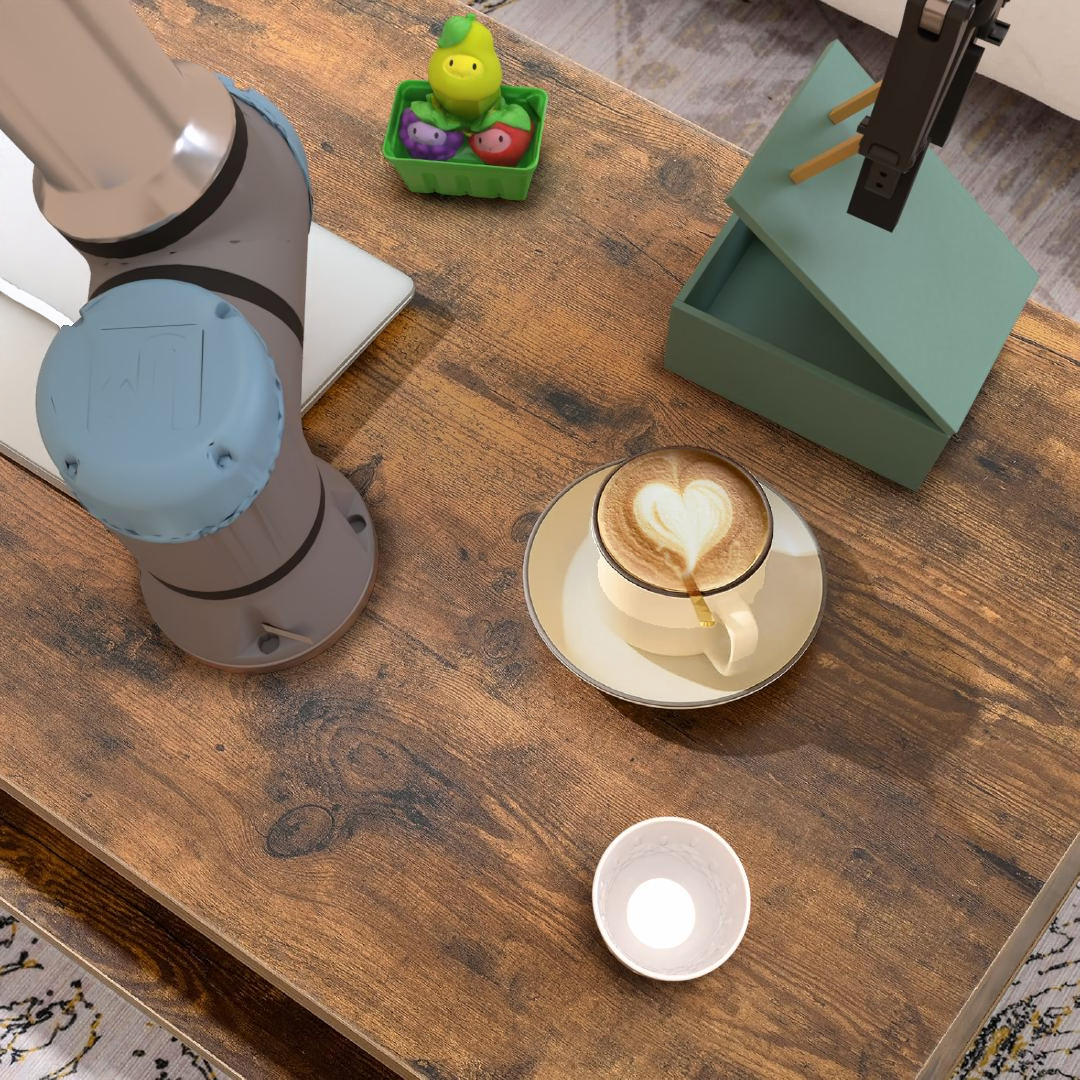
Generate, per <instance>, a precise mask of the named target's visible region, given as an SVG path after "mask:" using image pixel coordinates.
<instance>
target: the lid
mask: <svg viewBox="0 0 1080 1080" xmlns="http://www.w3.org/2000/svg"><path fill="white" fill-rule="evenodd" d="M814 63H815V64H814V65H813V66H812V68H811V69H810V71H809V72H808V74H807V76H805V78H804V80H803V81H802V83H801V84H800V86H799V87H798V88H797V90H796V92H795V93H794V95H793V96H792V97H791V99H790V100H789V102H788V104H787V105H786V107H785V108H784V110H783V111H782V112H781V114H780V116H779V117H778V119H776V121H775V123H774V124H773V125H772V127H771V129H770V131H769V132H768V133H767V135H766V136H765V138H764V139H763V141H762V142H761V144H760V145H759V146H758V148H757V150H756V151H755V152H754V153H753V155H752V157H751V158H750V160H749V161H748V163H747V164H746V166H745V168H743V170H742V172H741V174H740V175H739V177H738V178H737V179H736V181H735V182H734V184H733V185H732V187H731V188H730V190H729V191H728V193H727V194H726V196H725V197H724V199H723V202H724V203H725V204H726V205H727V206H728V208H729V209H730V210H732V213H733V212H734V213H735V214H736V215H737V216H738V217H739V218H740V219H741V220H742V221H743V222H744V223H745V224H746V225H747V226H748V227H749V228H750V229H751V230H752V231H753V232H754V233H755V235H756V236H757V237H758V238H759V239H760V240H761V241H762V242H763V243H764V244H765V245H766V246H767V247H768V248H769V249H770V250H771V251H772V252H773V253H774V254H775V255H776V257H777V258H778V259H779V260H780V261H781V262H782V263H783V264H784V265H785V266H786V267H787V268H788V269H789V270H790V271H791V272H792V273H793V274H794V275H795V276H796V277H797V278H798V280H799V281H800V282H801V283H802V284H803V285H804V286H805V287H806V288H807V289H808V290H809V291H810V292H811V293H812V294H813V295H814V296H815V297H816V298H817V299H818V300H819V302H820V303H821V304H822V305H823V306H824V307H825V308H826V309H827V310H828V311H829V312H830V313H831V314H832V315H833V316H834V317H835V318H836V319H837V320H838V321H839V322H840V324H841V325H842V326H843V327H844V328H845V329H846V330H847V331H848V332H849V333H850V334H851V335H852V336H853V337H854V338H855V339H856V340H857V341H858V342H859V343H860V344H861V345H862V347H863V348H864V349H865V350H866V351H867V352H868V353H869V354H870V355H871V356H872V357H873V358H874V359H875V360H876V361H877V362H878V363H879V364H880V365H881V366H882V367H883V369H884V370H885V371H886V372H887V373H888V374H889V375H890V376H891V377H892V378H893V379H894V380H895V381H896V382H897V383H898V384H899V385H900V386H901V387H902V388H903V389H904V391H905V392H906V393H907V394H908V395H909V396H910V397H911V398H912V399H913V400H914V401H915V402H916V403H917V404H918V405H919V406H920V407H921V408H922V409H923V410H924V411H925V412H926V414H927V415H928V416H929V417H930V418H931V419H932V420H933V421H934V422H935V423H936V424H937V425H938V426H939V427H940V428H941V429H942V430H943V431H944V432H945V433H946V434H947V435H951V434H952V435H956V434H957V433H958V432H959V431H960V428H961V426H962V425H963V423H964V420H965V419H966V417H967V416H968V413H969V411H970V410H971V407H972V406H973V404H974V402H975V400H976V398H977V397H978V395H979V392H980V391H981V388H982V387H983V385H984V383H985V381H986V379H987V377H988V375H989V374H990V371H991V370H992V369H993V366H994V364H995V362H996V361H997V358H998V356H999V355H1000V353H1001V351H1002V349H1003V347H1004V345H1005V343H1006V342H1007V340H1008V337H1009V336H1010V334H1011V332H1012V330H1013V328H1014V327H1015V325H1016V322H1017V321H1018V319H1019V316H1021V313H1022V311H1023V309H1024V308H1025V305H1026V304H1027V302H1028V300H1029V298H1030V296H1031V294H1032V292H1033V290H1034V288H1035V287H1036V285H1037V282H1038V281H1039V279H1040V277H1041V275H1040V274H1039V273H1038V272H1037V270H1036V269H1035V268H1034V267H1033V266H1032V265H1031V264H1030V262H1029V261H1028V260H1027V259H1026V257H1024V255H1023V254H1022V253H1021V251H1020V250H1019V249H1018V248H1017V247H1016V246H1015V245H1014V244H1013V242H1012V241H1011V240H1010V238H1008V237H1007V235H1006V234H1005V233H1004V231H1002V229H1001V228H1000V227H999V225H997V224H996V222H995V221H994V220H993V219H992V218H991V217H990V215H989V214H988V212H986V210H985V209H984V208H983V207H982V206H981V205H980V204H979V203H978V201H977V200H976V199H975V198H974V197H973V196H972V195H971V193H970V192H969V191H968V190H967V188H965V186H964V185H963V184H962V183H961V182H960V180H959V179H958V178H957V177H956V176H955V174H954V173H953V172H952V171H951V170H950V168H949V167H948V165H946V164H945V163H944V162H943V160H942V159H941V158H940V156H938V155H937V154H936V152H935V151H934V150H933V149H932V148H931V147H930V145H929V146H928V149H927V151H926V154H925V156H924V159H923V161H922V164H921V166H920V169H919V171H918V174H917V176H916V179H915V181H914V184H913V186H912V189H911V191H910V194H909V196H908V199H907V201H906V204H905V206H904V209H903V211H902V214H901V216H900V219H899V221H898V224H897V225H896V227H895V229H894V230H893V232H892V233H891V232H889V231H886V230H884V229H882V228H879V227H877V226H875V225H873V224H870V223H868V222H866V221H864V220H861V219H859V218H857V217H854V216H852V215H850V214H848V213H846V212H847V209H848V206H849V203H850V200H851V197H852V194H853V191H854V188H855V185H856V182H857V179H858V176H859V173H860V170H861V167H862V164H863V161H864V158H865V157H864V156H862V155H860V154H858V149H859V147H860V146H859V143H860V140H861V138H862V137H863V135H862V134H860V133H857V132H856V130H857V127H858V125H859V124H860V122H861V121H862V120H863V118H864V117H865V116H866V115H868V116H871V113H872V110H873V107H874V104H875V101H876V98H877V95H878V92H879V89H880V87H881V84H882V81H883V79H881V80H879V81H878V82H875V81H874V79H873V78H872V77H871V76H870V74H868V73H867V71H866V70H865V69H864V68H863V67H862V65H861V64H860V63H859V62H858V61H857V60H856V59H855V57H854V56H853V55H852V54H851V53H850V52H849V50H848V49H847V48H846V47H845V46H844V44H842V43H841V41H840V40H839V39H838V38H836V39H834V40H832V41H831V42H829V43H828V44H827V45H826V47H825V48H824V49H823V51H822V53H821V54H820V56H819V58H818V59H817V60H816V62H814ZM952 435H951V436H952Z"/></svg>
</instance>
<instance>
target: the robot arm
mask: <svg viewBox="0 0 1080 1080" xmlns="http://www.w3.org/2000/svg"><path fill="white" fill-rule="evenodd" d="M1010 2H1011V0H906V2H905V6H904V10H903V11H904V12H903V15H902V20H901V23H900V28H899V31H898V34H897V37H896V41H895V43H894V46H893V48H892V50H891V55H890V57H889V61H888V64H887V66H886V69H885V71H884V75H883V78H882V80H883V81H882V84H881V87H880V89H879V92H878V95H877V98H876V101H875V104H874V107H873V110H872V113H871V116H868V115H866V116H865V117H864V118H863V120H862V121H861V122H860V124H859V125H858V127H857V130H856V132H857V133H860V134H862V135H863V137H862V138H861V140H860V143H859V146H860V147H859V149H858V154H860V155H862V156H864V157H865V158H864V161H863V164H862V167H861V170H860V173H859V176H858V179H857V182H856V185H855V188H854V191H853V194H852V197H851V200H850V203H849V206H848V209H847V212H846V213H848V214H850V215H852V216H854V217H857V218H859V219H861V220H864V221H866V222H868V223H870V224H873V225H875V226H877V227H879V228H882V229H884V230H886V231H889V232H891V233H892V232H893V230H894V229H895V227H896V225H897V224H898V221H899V219H900V216H901V214H902V211H903V209H904V206H905V204H906V201H907V199H908V196H909V194H910V191H911V189H912V186H913V184H914V181H915V179H916V176H917V174H918V171H919V169H920V166H921V164H922V161H923V159H924V156H925V154H926V151H927V149H928V146H929V147H930V144H932V145H934V146H936V147H940V148H943V147H944V145H945V144H946V142H947V141H948V139H949V137H950V135H951V132H952V129H953V127H954V125H955V122H956V120H957V117H958V115H959V113H960V110H961V109H962V105H963V103H964V101H965V99H966V96H967V93H968V91H969V88H970V86H971V84H972V81H973V80H974V77H975V75H976V72H977V70H978V67H979V65H980V62H981V60H982V57H983V55H984V52H985V51H986V47H984V46H982V45H979V44H977V43H978V39H979V40H981V41H984V42H986V43H988V44H991V45H994V46H996V47H998V48H1000V47H1001V45H1002V44H1003V42H1004V40H1005V38H1006V36H1007V34H1008V32H1009V30H1010V27H1011V25H1012V24H1010V23H1008V22H1006V21H1002V20H1001V19H998V18H999V15H1000V12H1001V9H1004V8H1005V7H1006V5H1007V4H1008V3H1010ZM235 86H236V85H235V80H234V79H233V78H232V77H229V76H226V75H225V74H222V73H217V72H214V71H212V70H210V69H208V68H207V67H205V66H203V65H201V64H199V63H196V62H194V61H190V60H186V59H181V58H170V57H169V55H168V54H167V53H166V51H165V50H164V49H163V47H162V46H161V44H160V43H159V41H158V40H157V39H156V38H155V36H154V34H153V33H152V32H151V30H150V29H149V28H148V27H147V25H146V23H145V22H144V21H143V19H142V18H141V17H140V15H139V13H138V12H137V11H136V10H135V8H134V7H133V5H132V4H131V2H130V1H129V0H0V131H1V132H2V133H3V134H4V135H5V136H6V137H7V138H8V139H9V140H10V141H11V142H12V143H13V144H14V145H15V146H16V147H17V148H18V150H19V151H21V153H22V154H24V156H25V157H26V158H27V159H28V160H29V161H30V162H31V163H32V164H33V169H32V193H33V196H34V201H35V203H36V205H37V208H38V210H39V212H40V213H41V214H42V216H43V217H44V219H45V220H46V221H47V222H48V223H49V224H50V226H51V227H52V228H54V229H55V230H56V231H57V232H58V233H59V234H60V235H61V236H62V237H63V238H64V239H65V240H66V242H68V243H69V244H70V245H71V246H72V248H74V249H75V250H76V251H77V252H78V254H80V255H81V256H82V257H83V258H84V260H85V262H86V263H87V264H88V269H89V271H90V277H89V285H88V286H89V287H88V295H87V301H86V303H85V304H84V305H82V306H81V307H80V308H79V310H78V313H79V316H80V317H79V318H78V319H77V320H76V322H74V324H73V325H72V326H69V325H63V326H62V327H61V329H60V328H59V330H58V332H57V333H55V336H54V337H53V339H52V340H51V342H50V344H49V346H48V348H47V350H46V352H45V354H44V357H43V359H42V361H41V365H40V367H39V370H38V371H39V372H38V375H37V380H36V385H35V401H34V402H35V403H34V404H35V416H36V423H37V426H38V430H39V434H40V438H41V441H42V443H43V446H44V448H45V450H46V452H47V454H48V456H49V458H50V460H51V461H52V463H53V465H54V466H55V467H56V469H57V470H58V474H59V475H60V477H61V478H62V480H63V482H64V483H65V485H66V487H67V489H68V491H69V492H70V494H71V495H72V496H73V497H74V498H75V499H76V500H77V501H78V503H79V504H80V505H81V506H82V507H83V508H84V509H85V511H87V512H88V514H90V515H91V516H93V517H94V518H95V519H97V520H98V521H99V522H100V524H102V525H103V526H104V527H105V529H107V531H109V533H111V534H112V536H114V538H116V540H117V541H118V542H119V543H120V544H121V545H122V546H123V547H124V548H125V549H126V550H127V551H128V552H129V553H130V554H131V555H132V557H134V559H136V561H137V563H138V565H137V566H138V579H139V585H140V590H141V594H142V596H143V600H144V603H145V605H146V607H147V610H148V612H149V614H150V616H151V618H152V620H153V621H154V622H155V623H156V625H157V627H158V628H159V629H160V630H161V631H162V632H163V634H164V635H165V636H166V637H167V638H168V639H170V641H171V642H172V643H173V644H174V645H175V646H176V647H178V648H179V649H180V650H181V651H182V652H183V653H185V655H186V654H187V656H189V657H191V658H192V659H194V660H196V661H197V662H199V663H201V664H203V665H205V666H207V667H210V668H213V669H217V670H220V671H224V672H228V673H229V672H230V673H234V674H247V675H249V674H253V675H255V674H266V673H267V674H268V673H273V672H279V671H282V670H286V669H291V668H293V667H296V666H298V665H300V664H303V663H305V662H307V661H310V660H312V659H314V658H315V657H317V656H318V655H320V654H322V653H323V652H325V651H326V650H327V649H330V647H332V646H333V645H335V644H336V643H337V642H338V641H339V640H340V639H341V638H343V636H344V635H346V634H347V632H348V631H349V630H350V629H351V628H352V626H354V624H355V622H357V620H358V619H359V617H360V616H361V614H362V613H363V611H364V609H365V607H366V606H367V604H368V602H369V600H370V598H371V595H372V592H373V589H374V587H375V583H376V579H377V574H378V569H379V557H380V552H379V542H378V534H377V531H376V527H375V524H374V521H373V518H372V517H371V513H370V511H369V508H368V506H367V505H366V502H365V500H364V498H363V496H362V495H361V493H360V492H359V491H358V489H357V488H356V487H355V486H354V485H353V483H352V481H350V480H349V478H348V477H346V476H345V475H344V474H343V473H341V472H340V471H339V470H338V469H337V468H336V467H335V466H333V465H331V463H329V462H327V461H325V460H324V459H322V458H320V457H319V456H316V455H315V454H314V453H312V451H311V448H310V447H309V444H308V442H307V440H306V438H305V435H304V431H303V422H302V397H303V395H302V391H303V362H304V341H305V321H306V320H305V319H306V300H307V299H306V298H307V297H306V295H307V294H306V293H307V276H308V275H307V274H308V270H307V269H308V254H309V253H308V250H309V249H308V248H309V235H310V232H311V226H312V222H313V215H314V197H313V195H312V193H311V192H312V190H313V187H312V183H311V178H310V170H309V162H308V157H307V154H306V150H305V148H304V146H303V142H302V141H301V138H300V137H299V134H298V133H297V131H296V129H295V127H294V126H293V124H292V123H291V121H289V119H288V118H287V117H286V115H285V114H284V113H283V112H282V111H281V109H279V108H278V107H277V106H276V105H275V104H274V103H273V102H272V101H271V99H269V98H267V97H266V96H265V95H263V94H262V93H261V92H259V91H258V90H256V89H255V88H252V87H250V88H247V89H245V90H242V89H239V88H237V87H235Z"/></svg>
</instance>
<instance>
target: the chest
mask: <svg viewBox="0 0 1080 1080" xmlns="http://www.w3.org/2000/svg"><path fill="white" fill-rule="evenodd" d="M663 368H664V369H665V370H667V371H670V372H671V373H674V374H675V375H678V376H679V377H682V378H684V379H686V380H688V381H689V382H692V383H694V384H696V385H698V386H700V387H702V388H704V389H706V390H708V391H710V392H712V393H714V394H716V395H718V396H720V397H722V398H723V399H726V400H728V401H730V402H733V403H734V404H736V405H738V406H741V407H743V408H745V409H746V410H749V411H750V412H753V413H755V414H757V415H759V416H760V417H763V418H764V419H767V420H769V421H771V422H772V423H774V424H777V425H779V426H781V427H783V428H785V429H787V430H789V431H791V432H792V433H795V434H797V435H799V436H801V437H803V438H805V439H807V440H810V441H812V442H813V443H816V444H817V445H820V446H821V447H823V448H825V449H828V450H829V451H832V452H834V453H836V454H837V455H840V456H842V457H844V458H846V459H847V460H850V461H851V462H854V463H856V464H858V465H860V466H861V467H864V468H866V469H869V470H870V471H872V472H874V473H876V474H878V475H880V476H882V477H885V478H887V479H888V480H890V481H893V482H895V483H896V484H898V485H901V486H903V487H905V488H907V489H909V490H910V491H912V492H914V493H917V492H918V491H919V489H920V487H921V485H922V484H923V483H924V481H925V479H926V478H927V476H928V474H929V473H930V471H931V469H932V468H933V466H934V465H935V463H936V461H937V460H938V459H939V457H940V455H941V453H942V451H943V450H944V449H945V447H946V446H947V444H948V442H949V441H950V439H951V437H952V435H953V434H951V435H947V434H946V433H945V432H944V431H943V430H942V429H941V428H940V427H939V426H938V425H937V424H936V423H935V422H934V421H933V420H932V419H931V418H930V417H929V416H928V415H927V414H926V412H925V411H924V410H923V409H922V408H921V407H920V406H919V405H918V404H917V403H916V402H915V401H914V400H913V399H912V398H911V397H910V396H909V395H908V394H907V393H906V392H905V391H904V389H903V388H902V387H901V386H900V385H899V384H898V383H897V382H896V381H895V380H894V379H893V378H892V377H891V376H890V375H889V374H888V373H887V372H886V371H885V370H884V369H883V367H882V366H881V365H880V364H879V363H878V362H877V361H876V360H875V359H874V358H873V357H872V356H871V355H870V354H869V353H868V352H867V351H866V350H865V349H864V348H863V347H862V345H861V344H860V343H859V342H858V341H857V340H856V339H855V338H854V337H853V336H852V335H851V334H850V333H849V332H848V331H847V330H846V329H845V328H844V327H843V326H842V325H841V324H840V322H839V321H838V320H837V319H836V318H835V317H834V316H833V315H832V314H831V313H830V312H829V311H828V310H827V309H826V308H825V307H824V306H823V305H822V304H821V303H820V302H819V300H818V299H817V298H816V297H815V296H814V295H813V294H812V293H811V292H810V291H809V290H808V289H807V288H806V287H805V286H804V285H803V284H802V283H801V282H800V281H799V280H798V278H797V277H796V276H795V275H794V274H793V273H792V272H791V271H790V270H789V269H788V268H787V267H786V266H785V265H784V264H783V263H782V262H781V261H780V260H779V259H778V258H777V257H776V255H775V254H774V253H773V252H772V251H771V250H770V249H769V248H768V247H767V246H766V245H765V244H764V243H763V242H762V241H761V240H760V239H759V238H758V237H757V236H756V235H755V233H754V232H753V231H752V230H751V229H750V228H749V227H748V226H747V225H746V224H745V223H744V222H743V221H742V220H741V219H740V218H739V217H738V216H737V215H736V214H735V213H734V212H733V211H732V213H731V215H730V216H729V218H728V219H727V220H726V222H725V223H724V225H723V227H722V228H721V229H720V231H719V233H718V234H717V235H716V237H715V239H714V240H713V241H712V243H711V244H710V246H709V247H708V249H707V250H706V251H705V254H704V255H703V256H702V258H701V260H700V261H699V263H698V264H697V266H696V267H695V269H694V270H693V271H692V273H691V274H690V276H689V277H688V279H687V280H686V281H685V284H684V285H683V287H682V288H681V290H680V291H679V292H678V294H677V296H676V297H675V299H674V300H673V301H672V302H671V305H670V312H669V320H668V327H667V335H666V343H665V350H664V359H663Z"/></svg>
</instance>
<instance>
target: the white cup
mask: <svg viewBox="0 0 1080 1080" xmlns="http://www.w3.org/2000/svg"><path fill="white" fill-rule="evenodd" d="M591 893H592V894H591V900H592V901H591V903H592V911H593V914H594V920H595V922H596V925H597V928H598V931H599V932H600V936H601V939H602V941H603V942H604V944H605V946H606V948H607V949H608V950H609V952H610V953H611V954H612V955H613V957H614V958H616V959H617V961H618V962H619V963H620V964H621V965H622V966H624V967H625V968H627V970H630V971H631V972H633V973H635V974H637V975H639V976H641V977H644V978H647V979H651V980H656V981H662V982H681V981H688V980H693V979H697V978H699V977H703V976H705V975H707V974H710V973H711V972H713V971H714V970H717V968H719V967H720V966H722V965H723V964H724V963H725V962H726V961H728V959H729V958H730V957H731V956H732V955H733V954H734V952H735V951H736V949H737V948H738V947H739V945H740V943H741V942H742V940H743V939H744V938H743V937H744V935H745V934H746V931H747V927H748V924H749V921H750V916H751V900H752V899H751V890H750V883H749V880H748V876H747V873H746V871H745V868H744V866H743V863H742V862H741V860H740V858H739V856H738V855H737V853H736V852H735V851H734V849H733V848H732V846H730V844H729V843H728V842H727V841H726V840H725V839H724V838H723V837H722V836H721V835H719V834H718V833H717V832H715V830H713V829H711V828H709V827H708V826H706V825H705V824H702V823H700V822H698V821H695V820H692V819H689V818H685V817H681V816H680V817H679V816H658V817H657V816H656V817H652V818H648V819H645V820H641V821H639V822H637V823H635V824H633V825H631V826H629V827H628V828H626V829H625V830H622V831H621V833H619V834H618V835H617V836H616V837H615V838H614V839H613V840H612V841H611V842H610V843H609V845H608V846H607V848H605V850H604V852H603V854H602V855H601V857H600V859H599V861H598V864H597V866H596V869H595V872H594V877H593V881H592V888H591Z"/></svg>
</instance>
